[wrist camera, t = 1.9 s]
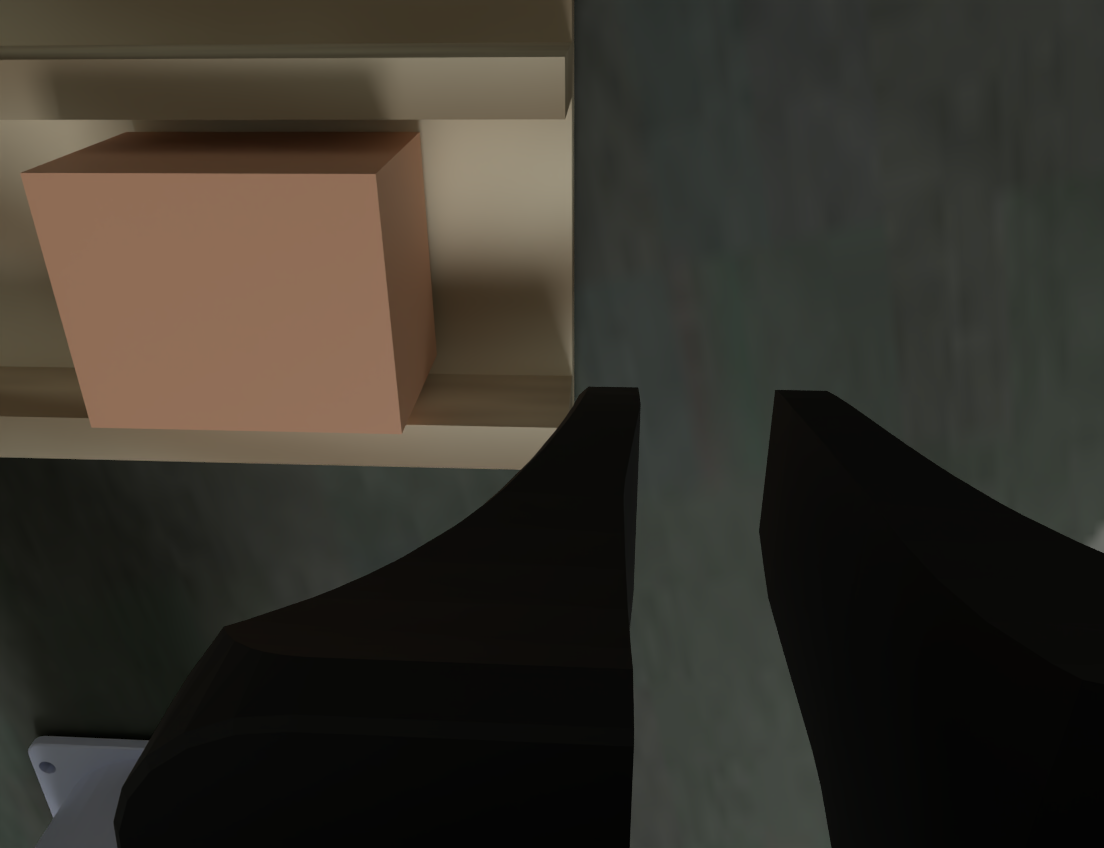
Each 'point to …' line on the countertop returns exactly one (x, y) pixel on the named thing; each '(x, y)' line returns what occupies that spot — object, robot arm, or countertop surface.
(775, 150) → the countertop surface
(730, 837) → the countertop surface
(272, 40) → the chute
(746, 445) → the countertop surface
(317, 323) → the block
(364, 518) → the countertop surface
